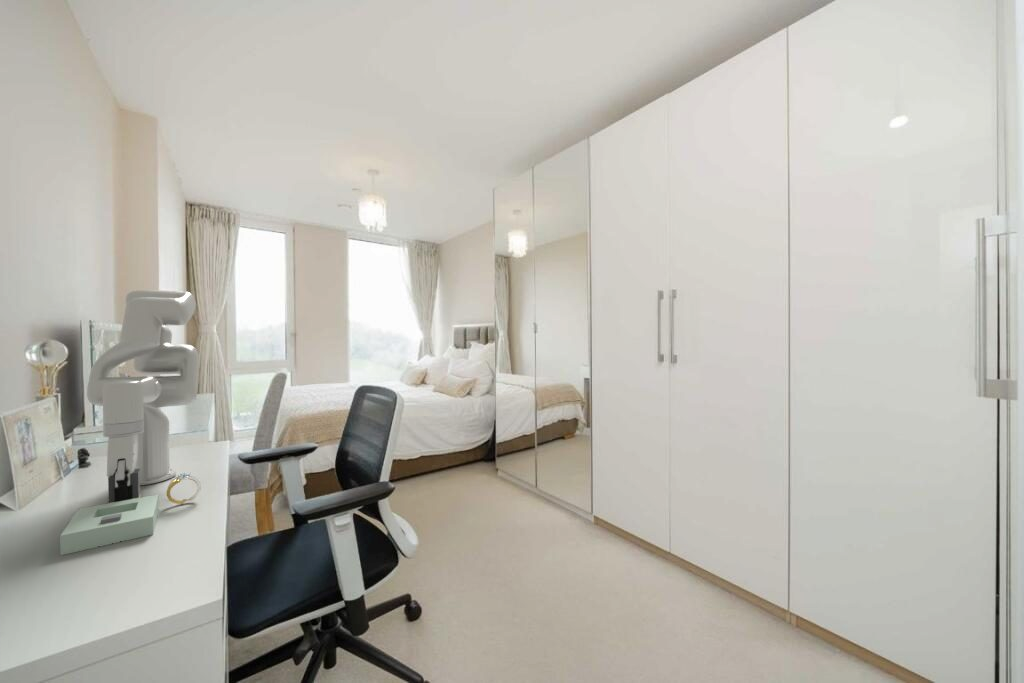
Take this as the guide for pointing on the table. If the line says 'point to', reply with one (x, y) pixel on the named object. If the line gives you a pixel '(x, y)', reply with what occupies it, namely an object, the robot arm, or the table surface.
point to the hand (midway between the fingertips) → (125, 498)
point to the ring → (177, 480)
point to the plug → (134, 482)
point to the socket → (110, 524)
